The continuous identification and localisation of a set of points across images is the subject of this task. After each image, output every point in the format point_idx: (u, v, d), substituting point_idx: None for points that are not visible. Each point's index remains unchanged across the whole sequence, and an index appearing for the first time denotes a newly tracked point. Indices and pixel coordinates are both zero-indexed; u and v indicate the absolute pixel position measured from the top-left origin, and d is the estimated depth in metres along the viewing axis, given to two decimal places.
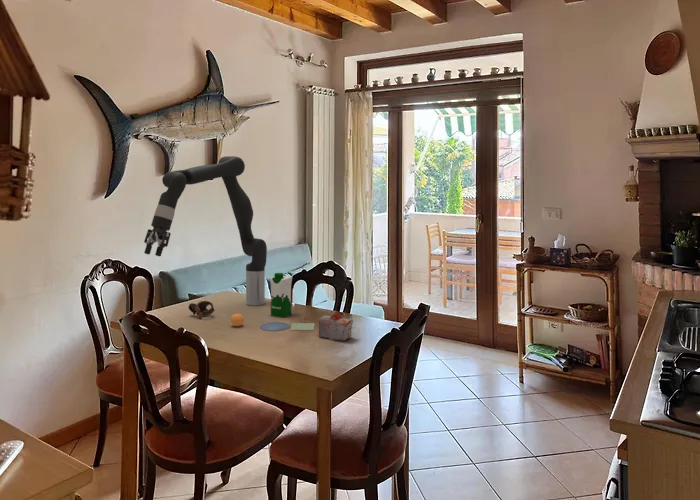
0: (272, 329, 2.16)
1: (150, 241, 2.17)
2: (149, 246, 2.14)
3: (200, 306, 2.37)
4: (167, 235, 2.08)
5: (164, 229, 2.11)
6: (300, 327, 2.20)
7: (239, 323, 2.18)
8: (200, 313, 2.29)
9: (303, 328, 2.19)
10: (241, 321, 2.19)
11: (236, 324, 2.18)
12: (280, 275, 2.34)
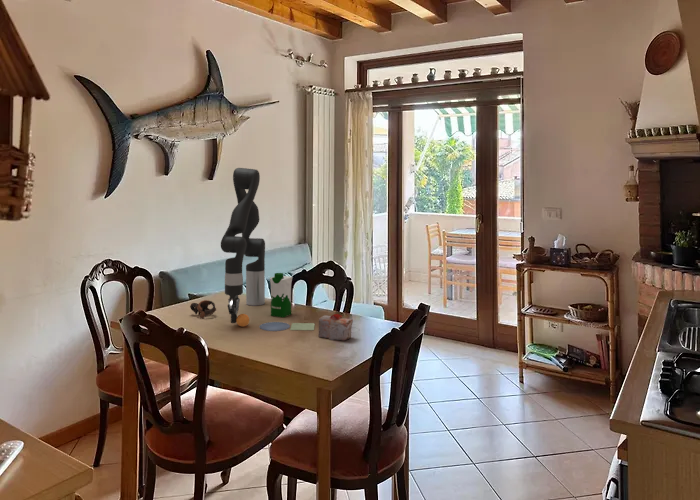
0: (272, 329, 2.16)
1: (237, 308, 2.22)
2: None
3: (202, 305, 2.38)
4: (231, 308, 2.14)
5: (231, 296, 2.15)
6: (300, 327, 2.20)
7: (243, 325, 2.18)
8: (202, 312, 2.31)
9: (303, 328, 2.19)
10: (246, 324, 2.19)
11: (240, 324, 2.18)
12: (280, 275, 2.34)
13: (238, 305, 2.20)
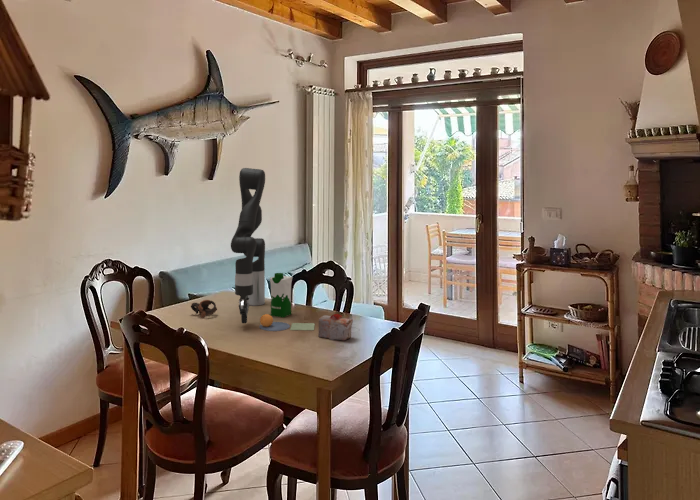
0: (272, 329, 2.16)
1: None
2: None
3: (202, 305, 2.38)
4: (242, 308, 2.14)
5: (242, 296, 2.15)
6: (300, 327, 2.20)
7: (265, 317, 2.18)
8: (203, 312, 2.31)
9: (303, 328, 2.19)
10: (263, 317, 2.18)
11: (268, 319, 2.18)
12: (280, 275, 2.34)
13: (248, 305, 2.21)
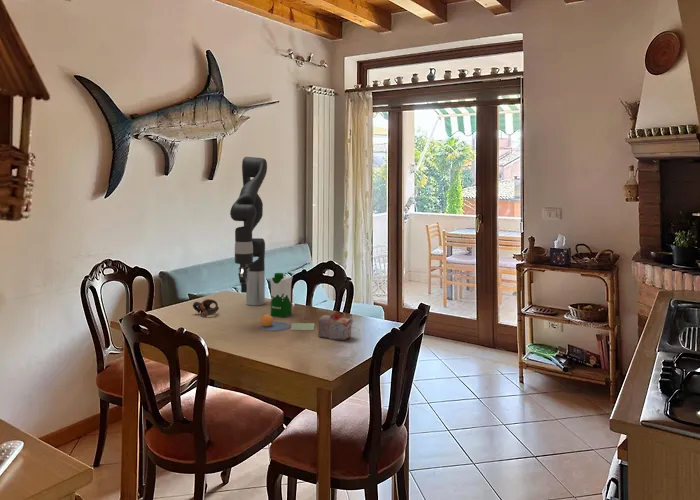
0: (272, 329, 2.16)
1: (247, 277, 2.20)
2: None
3: (204, 304, 2.40)
4: (241, 276, 2.12)
5: (241, 265, 2.13)
6: (300, 327, 2.20)
7: (265, 317, 2.18)
8: (205, 311, 2.33)
9: (303, 328, 2.19)
10: (263, 317, 2.18)
11: (268, 319, 2.18)
12: (280, 275, 2.34)
13: (248, 274, 2.19)
